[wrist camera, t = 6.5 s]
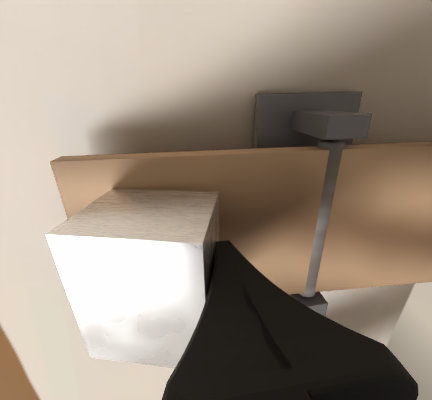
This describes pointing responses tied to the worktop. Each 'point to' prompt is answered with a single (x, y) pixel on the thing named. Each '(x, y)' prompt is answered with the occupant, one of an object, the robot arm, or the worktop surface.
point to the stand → (308, 131)
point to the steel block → (139, 271)
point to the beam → (293, 206)
